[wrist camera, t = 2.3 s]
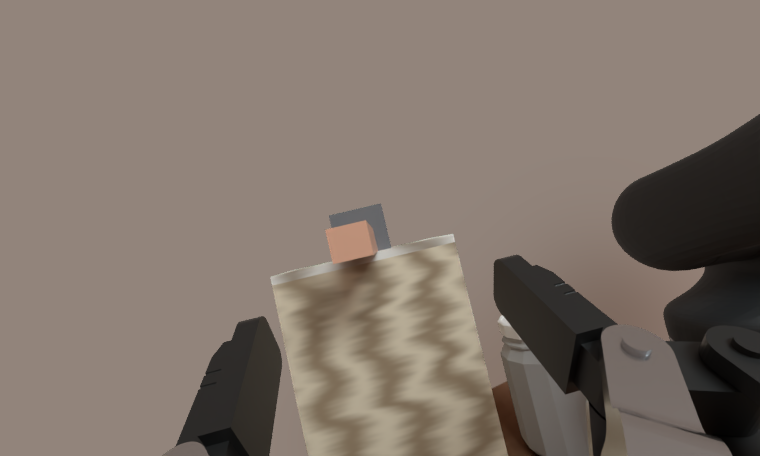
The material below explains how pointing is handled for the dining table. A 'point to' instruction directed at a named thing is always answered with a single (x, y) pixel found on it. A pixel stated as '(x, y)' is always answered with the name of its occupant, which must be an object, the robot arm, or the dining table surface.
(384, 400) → the beige zigzag box
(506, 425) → the dining table surface
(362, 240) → the salmon and grey blocks
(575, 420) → the jar
